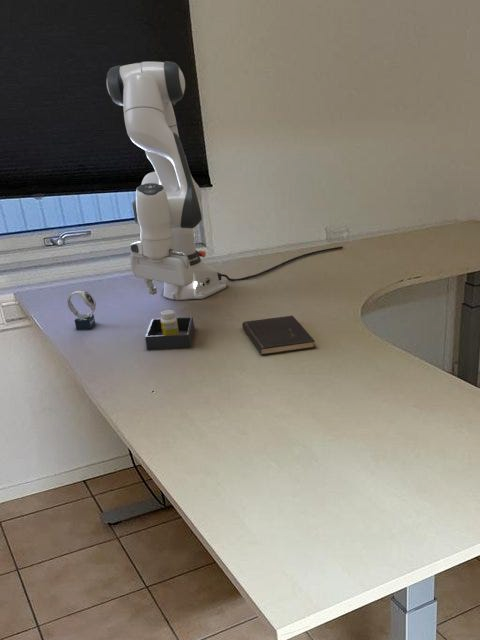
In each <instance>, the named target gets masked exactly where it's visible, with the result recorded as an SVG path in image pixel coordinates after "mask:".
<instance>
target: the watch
mask: <svg viewBox="0 0 480 640" xmlns="http://www.w3.org/2000/svg"><path fill="white" fill-rule="evenodd" d="M74 295H78V296H79V297H81V300H82V302H83V303H84V304H85V305H86V306H87V307H88V308H90V310H91V312H90V313H79V311H78V310H77V309H76V308H75V305H74V304H73V303H72V301H71V298H72V296H74ZM66 303H67V308H68V309H69V311H70V312H71V313H72V314H73V315H74V317H76V318H74V323H75V325H74V326H75V329H76V331H89V330H90V331H91V330H92V329H93V328H94V326H95V325H96V320H95V314H94V313H95V310H96V307H97V306H96V305H97V303H96V300H95V298H94V297H93V295H92V294H91V293H89V292H88V291H85V290H75V291H73V292H72V293H71V294H69V296H68V297H67V301H66Z"/></svg>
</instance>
